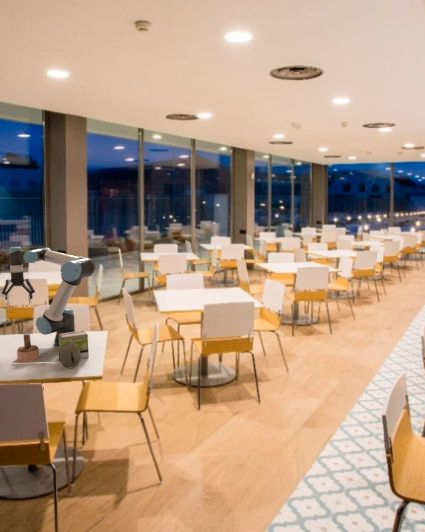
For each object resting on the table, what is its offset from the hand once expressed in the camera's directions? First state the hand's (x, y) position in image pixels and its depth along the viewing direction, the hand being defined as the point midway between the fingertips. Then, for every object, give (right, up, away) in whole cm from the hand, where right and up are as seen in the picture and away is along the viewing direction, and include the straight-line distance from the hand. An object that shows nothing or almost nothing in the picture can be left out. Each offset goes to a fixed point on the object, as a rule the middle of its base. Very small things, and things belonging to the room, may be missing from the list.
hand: (19, 304), depth 349 cm
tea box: (+41, -30, -25) cm, 57 cm away
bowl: (+14, -30, -25) cm, 42 cm away
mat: (+17, -28, -13) cm, 35 cm away
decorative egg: (+44, -33, -43) cm, 69 cm away
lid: (+14, -25, -26) cm, 39 cm away
